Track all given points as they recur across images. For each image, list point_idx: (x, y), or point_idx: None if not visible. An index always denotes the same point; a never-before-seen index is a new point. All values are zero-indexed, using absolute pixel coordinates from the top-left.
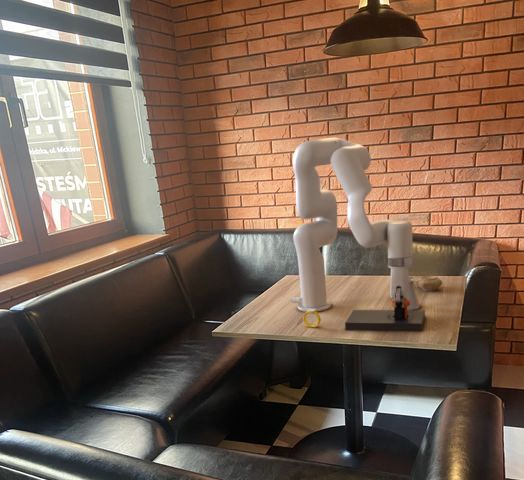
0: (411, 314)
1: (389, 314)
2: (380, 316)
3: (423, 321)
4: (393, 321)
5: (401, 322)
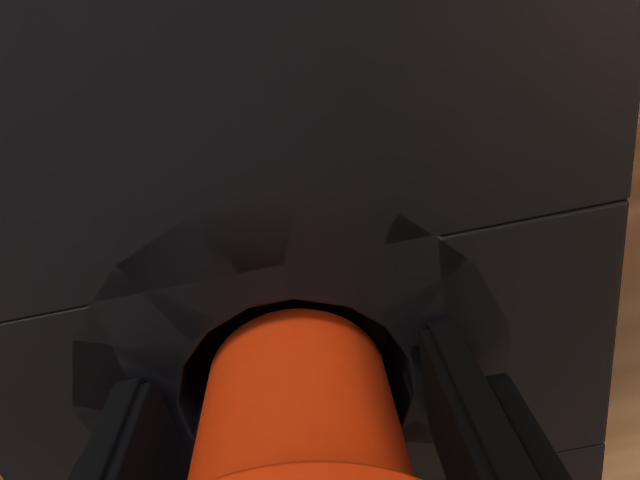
0: None
1: (365, 218)
2: (204, 97)
3: None
4: (31, 384)
5: (43, 477)
